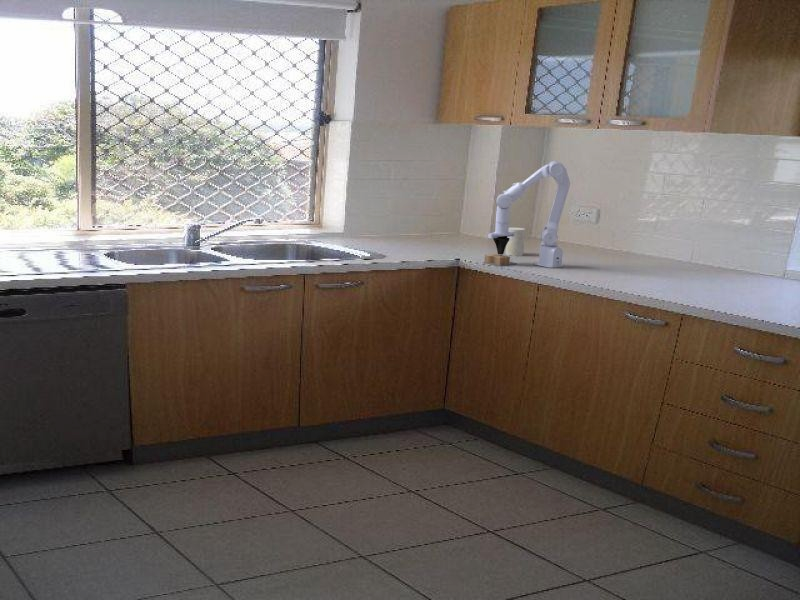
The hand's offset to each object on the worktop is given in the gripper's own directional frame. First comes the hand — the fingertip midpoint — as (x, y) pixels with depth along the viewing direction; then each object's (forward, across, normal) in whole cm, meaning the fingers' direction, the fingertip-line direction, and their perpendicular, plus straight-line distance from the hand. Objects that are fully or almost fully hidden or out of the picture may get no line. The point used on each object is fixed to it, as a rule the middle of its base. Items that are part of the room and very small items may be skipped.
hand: (500, 254), depth 362 cm
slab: (+2, -1, 0) cm, 3 cm away
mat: (+4, 0, 0) cm, 4 cm away
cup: (+4, -24, -14) cm, 28 cm away
